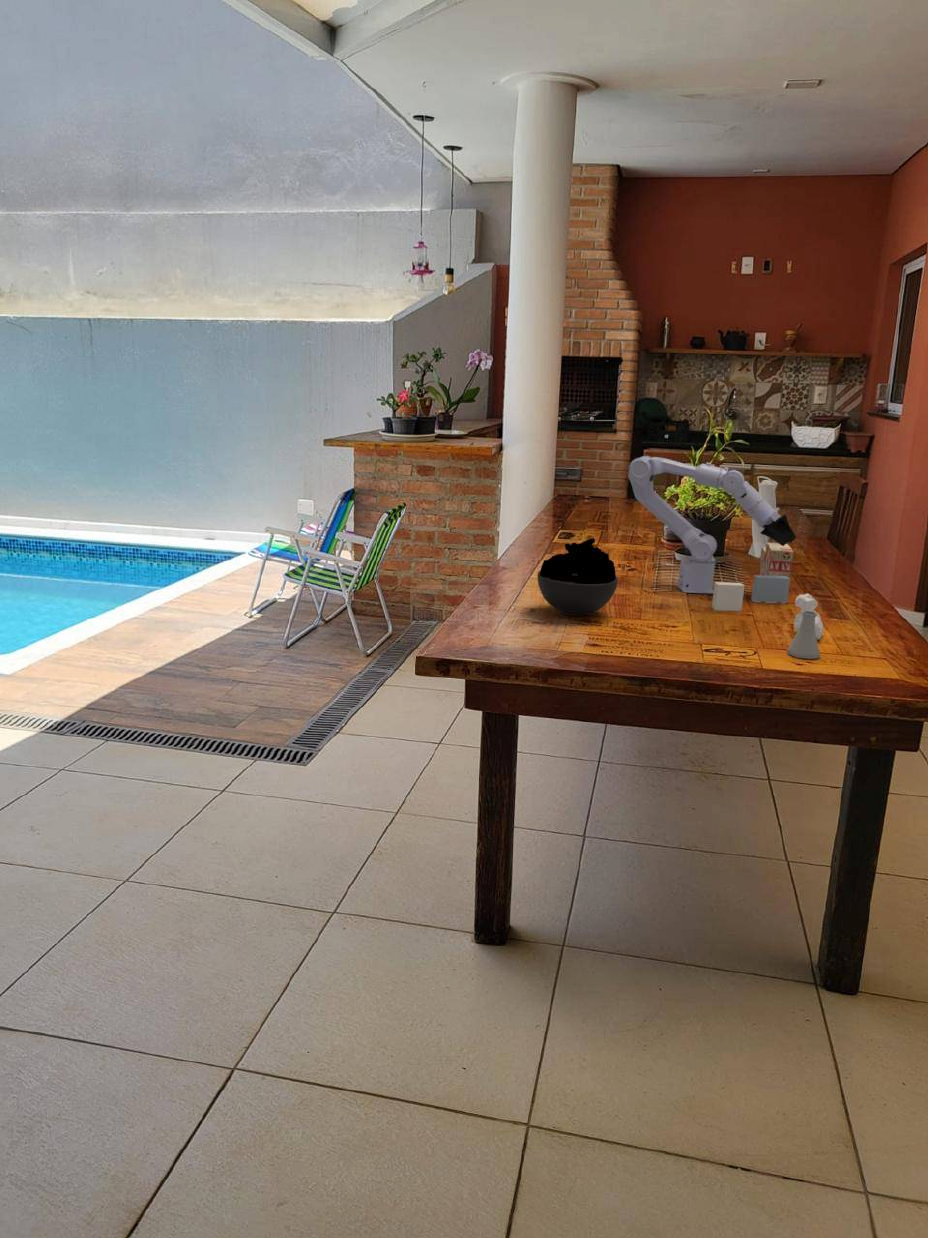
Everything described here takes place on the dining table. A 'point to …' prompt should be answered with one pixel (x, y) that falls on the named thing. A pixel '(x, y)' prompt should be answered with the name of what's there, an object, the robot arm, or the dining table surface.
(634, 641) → the dining table surface
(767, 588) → the gray rectangular block
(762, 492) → the skyscraper
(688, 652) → the dining table surface
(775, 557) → the stack of blocks
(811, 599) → the bust
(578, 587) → the coal bowl
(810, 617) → the flask
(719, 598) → the light grey square block
